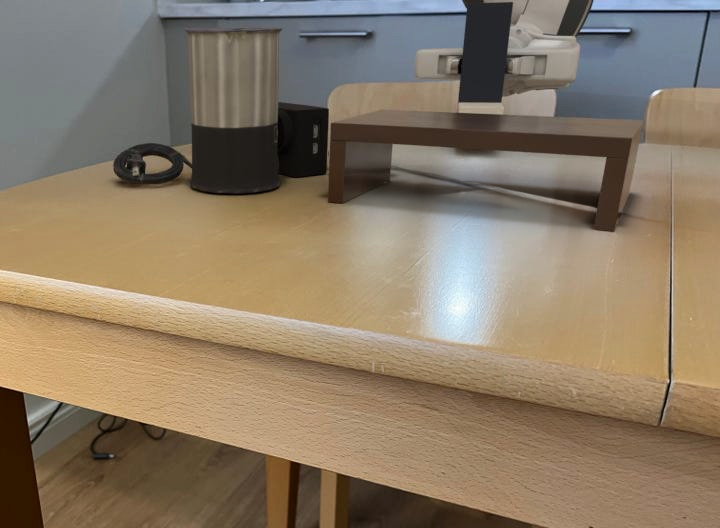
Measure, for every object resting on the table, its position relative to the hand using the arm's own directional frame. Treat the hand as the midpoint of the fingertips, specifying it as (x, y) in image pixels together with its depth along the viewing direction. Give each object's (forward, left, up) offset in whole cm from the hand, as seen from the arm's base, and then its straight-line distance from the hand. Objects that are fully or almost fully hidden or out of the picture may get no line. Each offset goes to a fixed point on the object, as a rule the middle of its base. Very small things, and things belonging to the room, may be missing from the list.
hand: (481, 66), depth 91 cm
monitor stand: (+21, +21, -10) cm, 32 cm away
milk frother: (+39, 0, -10) cm, 41 cm away
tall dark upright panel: (+1, +2, -8) cm, 8 cm away
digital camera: (+27, -3, -10) cm, 29 cm away
